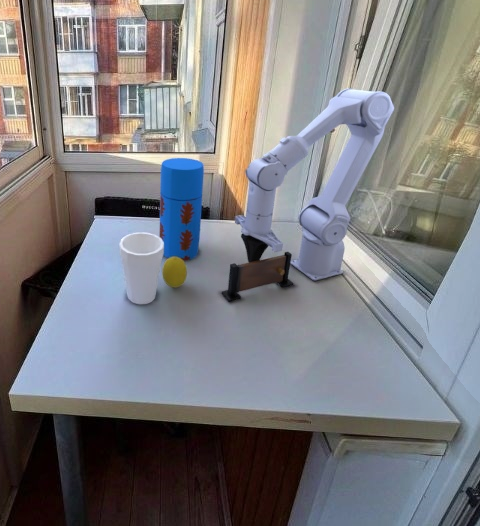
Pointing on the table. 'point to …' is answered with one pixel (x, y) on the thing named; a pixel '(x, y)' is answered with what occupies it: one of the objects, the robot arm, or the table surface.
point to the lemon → (174, 272)
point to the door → (260, 273)
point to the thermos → (181, 206)
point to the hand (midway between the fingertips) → (253, 262)
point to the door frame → (231, 293)
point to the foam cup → (141, 265)
